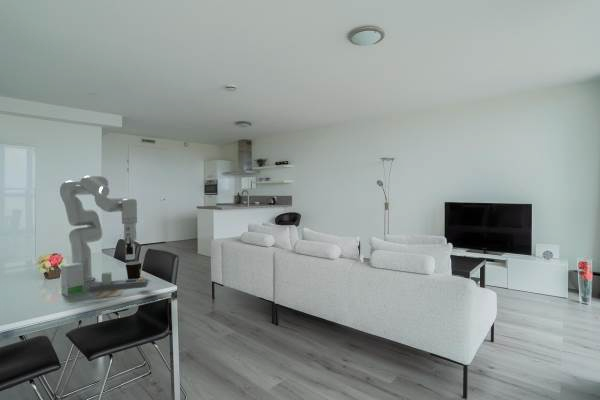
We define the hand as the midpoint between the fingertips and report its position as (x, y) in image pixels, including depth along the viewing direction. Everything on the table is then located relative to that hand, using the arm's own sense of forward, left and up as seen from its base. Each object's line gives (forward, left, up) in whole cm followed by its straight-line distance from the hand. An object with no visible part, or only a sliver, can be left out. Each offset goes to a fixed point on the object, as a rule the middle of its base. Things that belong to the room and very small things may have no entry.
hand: (130, 253), depth 178 cm
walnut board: (-8, -12, -19) cm, 24 cm away
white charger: (0, 0, -3) cm, 3 cm away
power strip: (-6, 0, -19) cm, 20 cm away
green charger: (-12, 0, -18) cm, 22 cm away
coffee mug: (0, +16, -19) cm, 25 cm away
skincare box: (-27, -3, -19) cm, 33 cm away
